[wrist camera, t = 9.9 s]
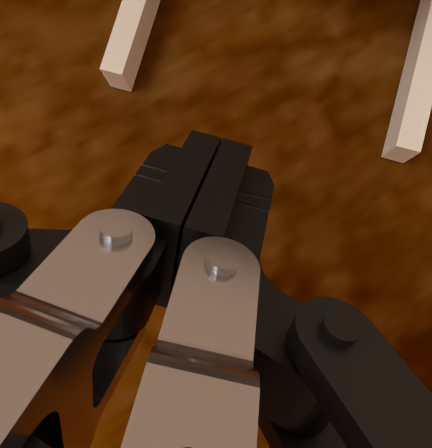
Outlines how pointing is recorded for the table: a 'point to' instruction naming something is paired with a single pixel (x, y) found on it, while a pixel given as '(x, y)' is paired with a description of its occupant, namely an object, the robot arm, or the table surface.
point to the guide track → (405, 100)
